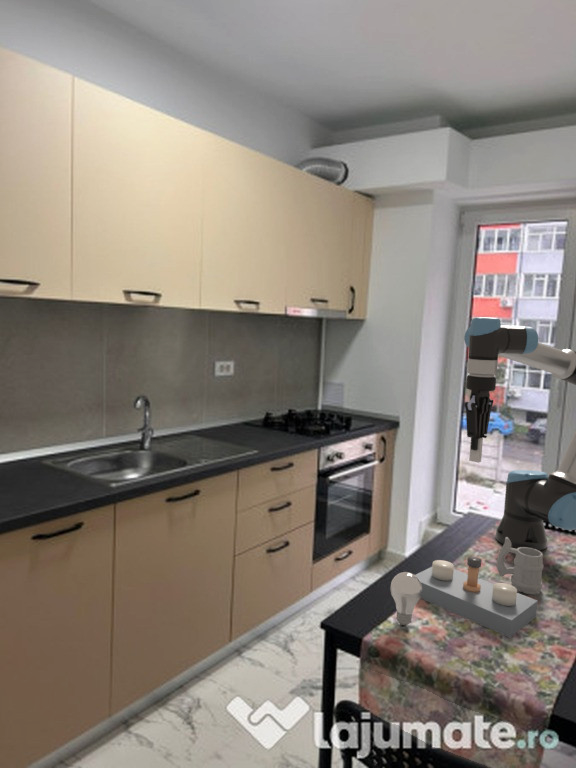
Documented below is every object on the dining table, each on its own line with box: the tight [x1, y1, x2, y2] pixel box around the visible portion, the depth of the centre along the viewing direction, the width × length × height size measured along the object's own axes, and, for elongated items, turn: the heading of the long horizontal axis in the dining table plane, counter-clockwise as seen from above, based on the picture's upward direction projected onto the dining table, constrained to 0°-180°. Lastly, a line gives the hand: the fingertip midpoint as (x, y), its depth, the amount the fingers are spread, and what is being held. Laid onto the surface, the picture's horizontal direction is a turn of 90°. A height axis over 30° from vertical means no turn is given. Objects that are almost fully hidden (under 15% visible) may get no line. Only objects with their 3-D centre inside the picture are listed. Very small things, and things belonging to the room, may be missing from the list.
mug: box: [496, 537, 544, 595], centre depth 149 cm, size 8×12×12 cm, turn 53°
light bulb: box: [389, 571, 422, 627], centre depth 126 cm, size 7×7×12 cm
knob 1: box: [431, 559, 455, 581], centre depth 143 cm, size 5×5×7 cm
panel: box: [414, 566, 539, 638], centre depth 137 cm, size 14×26×4 cm, turn 45°
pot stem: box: [463, 556, 482, 593], centre depth 137 cm, size 4×4×7 cm
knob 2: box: [492, 582, 518, 607], centre depth 132 cm, size 5×5×7 cm
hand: (475, 461), depth 155 cm, fingers closed
